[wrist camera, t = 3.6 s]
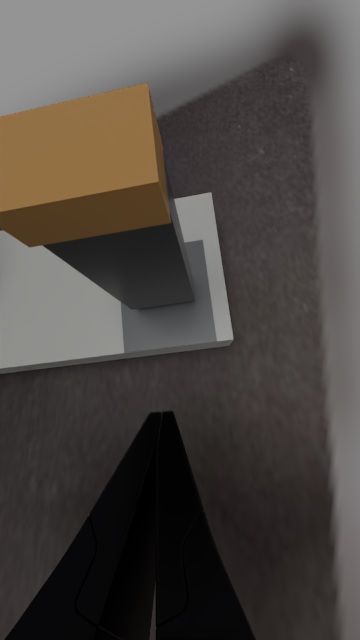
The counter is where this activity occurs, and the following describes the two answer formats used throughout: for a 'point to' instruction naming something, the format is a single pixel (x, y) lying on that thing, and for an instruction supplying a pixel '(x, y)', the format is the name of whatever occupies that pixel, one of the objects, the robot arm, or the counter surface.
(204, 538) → the robot arm
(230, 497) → the counter surface
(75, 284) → the grey mounting base
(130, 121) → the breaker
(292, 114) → the counter surface
